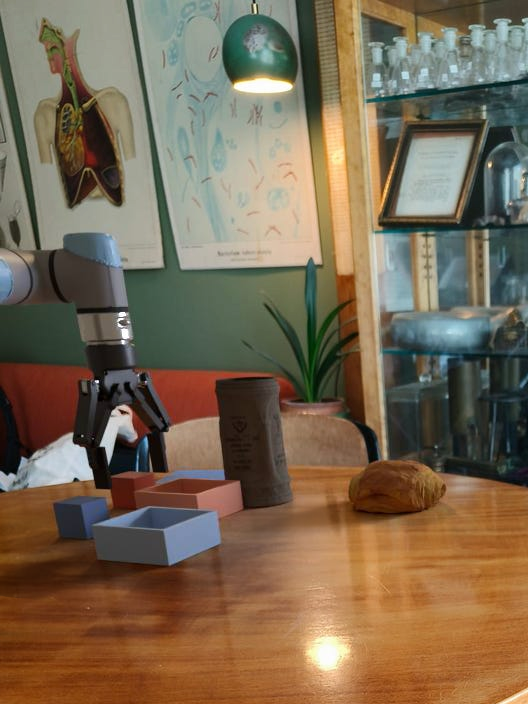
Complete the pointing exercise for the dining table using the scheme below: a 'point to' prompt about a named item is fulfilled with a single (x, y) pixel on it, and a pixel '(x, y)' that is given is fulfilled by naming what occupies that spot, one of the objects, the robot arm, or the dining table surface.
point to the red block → (129, 487)
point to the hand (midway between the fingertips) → (133, 480)
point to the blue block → (80, 516)
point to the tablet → (194, 475)
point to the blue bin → (156, 535)
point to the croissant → (395, 487)
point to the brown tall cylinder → (253, 439)
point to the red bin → (193, 495)
